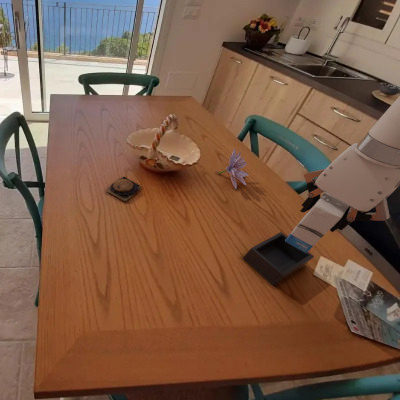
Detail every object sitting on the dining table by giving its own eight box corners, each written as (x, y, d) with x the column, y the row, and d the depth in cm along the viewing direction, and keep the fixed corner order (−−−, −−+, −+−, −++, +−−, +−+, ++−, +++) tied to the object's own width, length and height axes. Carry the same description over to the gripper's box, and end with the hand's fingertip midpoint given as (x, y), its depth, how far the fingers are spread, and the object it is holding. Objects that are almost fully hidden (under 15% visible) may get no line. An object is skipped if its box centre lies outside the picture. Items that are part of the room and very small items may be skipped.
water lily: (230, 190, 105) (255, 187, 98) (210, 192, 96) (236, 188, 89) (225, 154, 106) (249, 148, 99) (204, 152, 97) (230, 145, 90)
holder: (303, 266, 72) (314, 256, 69) (273, 285, 67) (284, 276, 64) (272, 242, 78) (281, 231, 75) (242, 258, 73) (250, 248, 70)
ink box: (305, 254, 61) (342, 219, 53) (282, 240, 63) (314, 204, 55) (318, 236, 65) (354, 201, 57) (295, 224, 68) (327, 189, 60)
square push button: (125, 203, 87) (127, 195, 84) (105, 191, 90) (106, 183, 88) (142, 188, 93) (145, 180, 90) (122, 177, 97) (124, 169, 94)
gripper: (459, 171, 43) (371, 241, 55) (344, 124, 54) (291, 191, 66) (442, 183, 40) (353, 254, 53) (324, 131, 51) (272, 200, 64)
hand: (319, 218), depth 59 cm, fingers closed on ink box, 5 cm apart
